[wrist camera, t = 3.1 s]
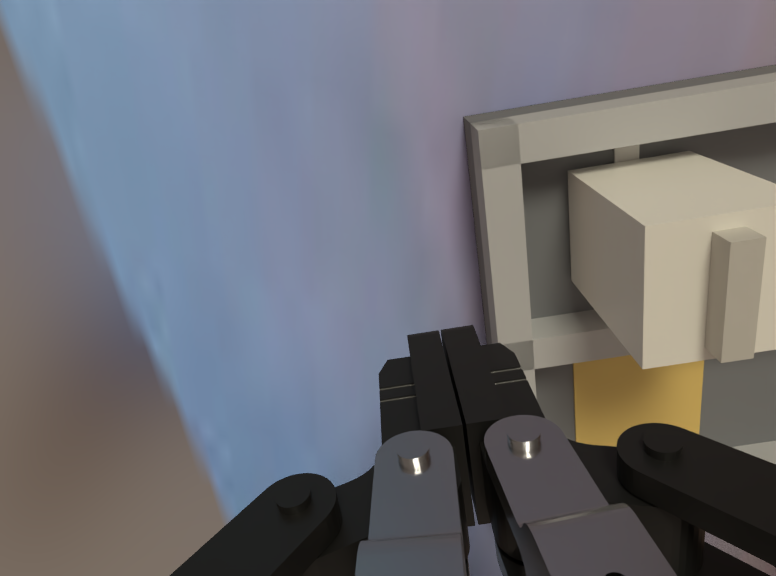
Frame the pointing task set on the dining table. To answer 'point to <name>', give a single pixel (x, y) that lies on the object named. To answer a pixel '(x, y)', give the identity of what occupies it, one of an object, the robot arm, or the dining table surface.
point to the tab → (677, 256)
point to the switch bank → (553, 259)
